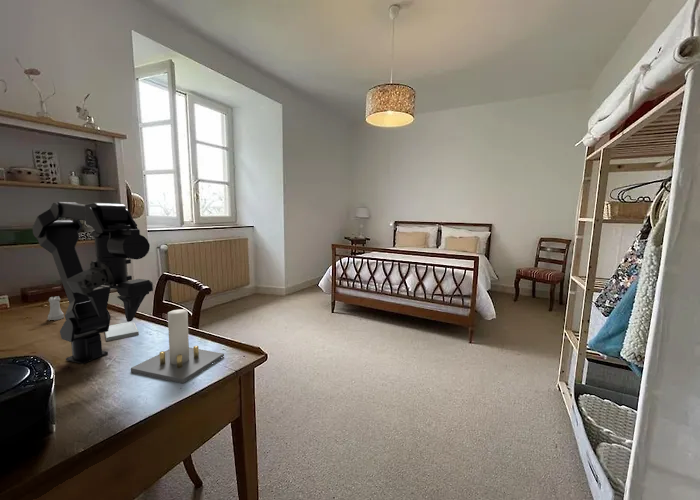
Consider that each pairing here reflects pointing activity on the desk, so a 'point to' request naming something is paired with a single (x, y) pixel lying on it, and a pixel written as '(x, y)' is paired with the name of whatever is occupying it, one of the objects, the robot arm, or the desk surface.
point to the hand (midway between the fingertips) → (115, 319)
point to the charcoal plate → (177, 365)
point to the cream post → (178, 335)
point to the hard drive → (121, 331)
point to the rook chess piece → (55, 309)
